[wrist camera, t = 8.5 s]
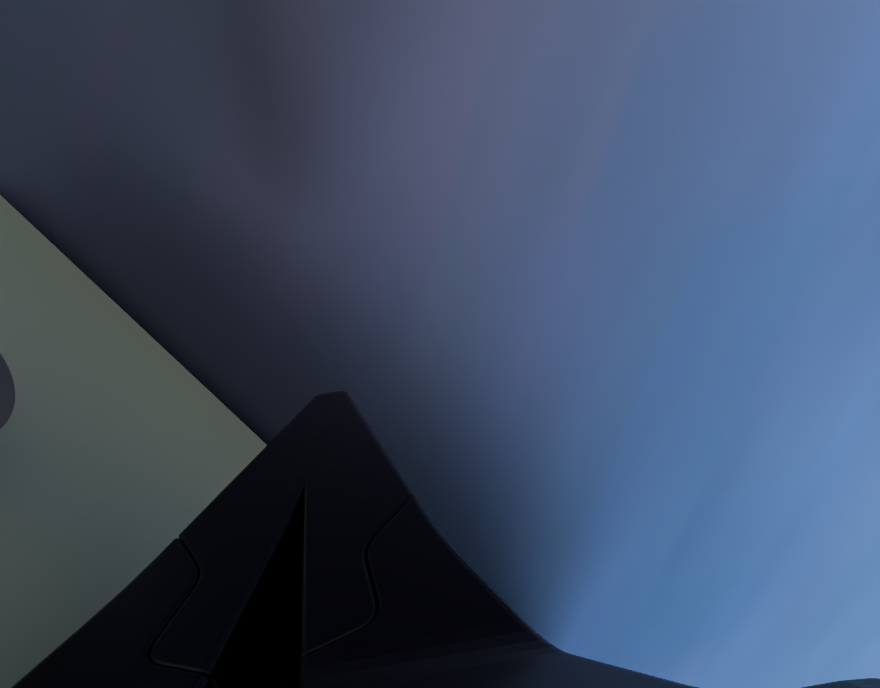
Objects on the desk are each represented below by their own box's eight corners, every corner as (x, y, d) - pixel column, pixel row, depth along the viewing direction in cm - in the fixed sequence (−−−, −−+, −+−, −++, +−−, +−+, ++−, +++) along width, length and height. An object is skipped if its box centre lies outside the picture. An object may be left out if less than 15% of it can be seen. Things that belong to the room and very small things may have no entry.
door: (580, 695, 18) (698, 1053, 12) (501, 737, 18) (572, 1102, 12) (33, 146, 10) (-527, 350, 4) (-83, 245, 10) (-756, 576, 4)
